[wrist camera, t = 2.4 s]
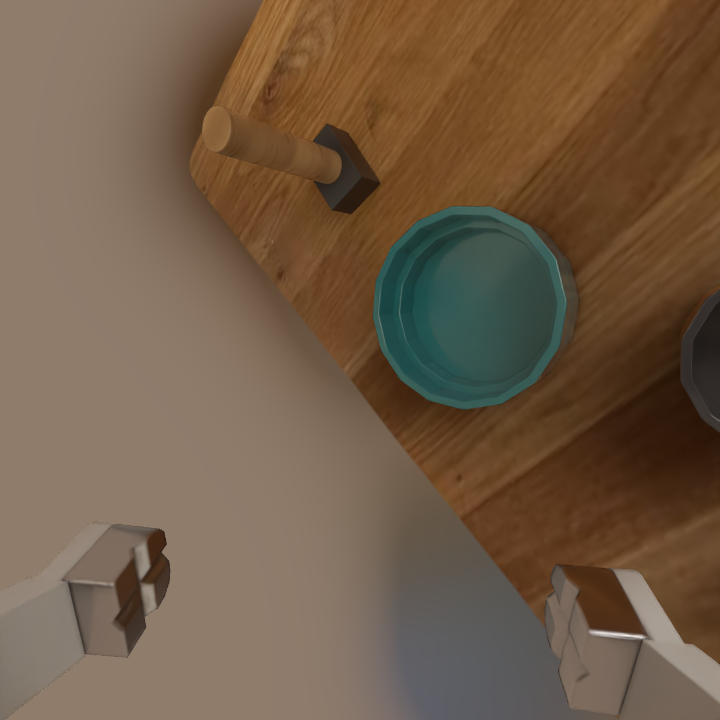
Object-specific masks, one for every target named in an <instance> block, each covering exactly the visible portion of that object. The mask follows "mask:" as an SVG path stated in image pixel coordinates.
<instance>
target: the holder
mask: <svg viewBox="0 0 720 720" xmlns="http://www.w3.org/2000/svg"><path fill="white" fill-rule="evenodd" d="M680 380H681V383H682V385H683V387H684V388H685V390H686V392H687V394H688V396H689V397H690V399H691V401H692V403H693V405H694V407H695V408H696V410H697V412H698V414H699V416H700V417H701V419H702V420H703V421H704V422H706V423H707V424H709V425H710V426H711V427H713V428H714V429H716V430H717V431H718V432H720V283H719V284H718V285H717V286H715V287H714V288H712V289H711V290H709V291H708V292H706V293H705V294H703V295H702V296H701V297H700V299H699V300H698V302H697V304H696V305H695V307H694V309H693V310H692V311H691V313H690V315H689V317H688V318H687V320H686V322H685V323H684V325H683V327H682V328H681V338H680Z"/></svg>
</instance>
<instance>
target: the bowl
mask: <svg viewBox="0 0 720 720" xmlns="http://www.w3.org/2000/svg"><path fill="white" fill-rule="evenodd" d="M578 305H579V297H578V293H577V289H576V285H575V281H574V277H573V273H572V269H571V265H570V262H569V260H568V259H567V258H566V257H565V255H564V254H563V253H562V252H561V250H560V249H559V248H558V247H557V245H556V244H555V243H554V242H553V240H552V239H551V238H550V237H549V236H548V234H547V233H546V232H545V231H544V230H542V229H540V228H538V227H536V226H534V225H531V224H529V223H527V222H525V221H523V220H521V219H519V218H517V217H515V216H513V215H511V214H508V213H506V212H503V211H501V210H499V209H496V208H494V207H486V206H451V207H449V208H446V209H444V210H442V211H439V212H437V213H435V214H432V215H430V216H428V217H425V218H423V219H421V220H418V221H417V222H416V223H415V224H414V225H413V226H412V227H411V228H410V229H409V230H408V231H407V232H406V233H405V234H404V235H403V236H402V237H401V238H400V239H399V240H398V241H397V242H396V243H395V244H394V245H393V246H392V247H391V248H390V251H389V253H388V255H387V257H386V259H385V262H384V264H383V266H382V268H381V270H380V273H379V275H378V277H377V279H376V285H375V296H374V307H373V320H374V324H375V328H376V332H377V336H378V340H379V344H380V348H381V351H382V353H383V354H384V356H385V357H386V359H387V360H388V362H389V363H390V365H391V366H392V368H393V369H394V371H395V372H396V374H397V375H398V377H399V378H400V379H401V381H403V382H404V383H405V384H407V385H408V386H409V387H411V388H412V389H414V390H415V391H416V392H418V393H419V394H420V395H422V396H423V397H424V398H426V399H427V400H429V401H432V402H436V403H440V404H444V405H448V406H451V407H455V408H459V409H464V410H465V409H472V408H479V407H486V406H492V405H499V404H502V403H504V402H506V401H507V400H509V399H510V398H512V397H513V396H515V395H517V394H518V393H520V392H521V391H523V390H525V389H526V388H528V387H529V386H531V385H533V384H534V383H536V382H537V381H539V380H540V379H541V378H543V377H544V376H546V375H547V374H549V372H551V370H552V369H553V367H554V366H555V364H556V363H557V361H558V360H559V359H560V357H561V356H562V354H563V353H564V351H565V350H566V348H567V347H568V345H569V344H570V342H571V340H572V338H573V332H574V327H575V321H576V316H577V311H578Z"/></svg>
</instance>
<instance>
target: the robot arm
mask: <svg viewBox="0 0 720 720" xmlns="http://www.w3.org/2000/svg"><path fill="white" fill-rule="evenodd" d="M166 545H167V543H166V538H165V533H164V531H162V530H160V529H157V528H148V527H140V526H131V525H122V524H109V523H101V522H93V523H91V524H88V525H87V526H86V527H85V528H84V529H83V530H82V531H81V532H80V533H79V534H78V535H77V536H76V537H75V538H74V539H73V540H72V541H71V542H70V543H69V544H68V545H67V546H66V547H65V548H64V549H63V550H62V551H61V552H60V553H59V554H58V555H57V556H56V557H55V558H54V559H53V560H52V561H51V562H50V563H49V564H48V565H47V566H46V567H45V568H44V569H43V570H42V571H41V572H40V573H39V574H38V575H37V576H36V577H35V578H30V577H29V578H25V579H23V580H21V581H19V582H17V583H15V584H13V585H11V586H9V587H7V588H5V589H2V590H0V720H5V719H6V718H7V717H9V716H10V715H11V714H12V713H14V712H15V711H16V710H18V709H19V708H20V707H22V706H23V705H24V704H25V703H27V702H28V701H29V700H30V699H32V698H33V697H34V696H36V695H37V694H38V693H40V692H41V691H42V690H43V689H45V688H46V687H47V686H49V685H50V684H51V683H52V682H54V681H55V680H56V679H57V678H59V677H60V676H61V675H63V674H64V673H65V672H66V671H68V670H69V669H70V668H72V667H73V666H74V665H75V664H77V663H78V662H79V661H81V660H82V659H83V658H84V657H85V654H90V655H102V656H115V657H128V656H129V654H130V653H131V651H132V650H133V648H134V646H135V645H136V643H137V641H138V640H139V638H140V636H141V635H142V633H143V632H144V630H145V629H146V623H145V616H147V615H149V614H150V613H152V612H153V611H155V610H156V609H158V607H159V605H160V604H161V602H162V600H163V598H164V597H165V594H166V591H167V588H168V585H169V581H170V564H169V560H168V559H167V558H166V557H165V556H164V555H163V554H162V550H163V549H164V547H165V546H166ZM550 580H551V583H552V585H553V588H554V592H552V593H551V594H550V595H549V596H548V597H547V599H546V606H545V628H546V633H547V638H548V642H549V645H550V648H551V650H552V651H553V652H554V653H555V654H556V655H557V656H558V657H559V658H560V659H561V661H560V666H559V670H558V674H559V677H560V680H561V683H562V686H563V689H564V692H565V695H566V699H567V702H568V705H569V708H571V709H577V710H584V711H591V712H598V713H605V714H612V715H618V716H620V717H619V719H620V720H720V664H719V663H717V662H716V661H715V660H713V659H712V658H710V657H709V656H708V655H706V654H705V653H704V652H702V651H701V650H700V649H698V648H697V647H696V646H694V645H692V644H684V642H683V640H682V639H681V637H680V636H679V634H678V632H677V631H676V629H675V628H674V626H673V624H672V623H671V621H670V620H669V618H668V616H667V615H666V613H665V612H664V610H663V608H662V607H661V605H660V604H659V602H658V600H657V599H656V597H655V596H654V594H653V592H652V591H651V589H650V588H649V586H648V585H647V583H646V581H645V580H644V578H643V577H642V575H641V574H640V573H639V572H638V571H636V570H631V569H617V568H608V569H607V568H598V567H586V566H574V565H562V564H556V565H555V566H554V568H553V570H552V575H551V579H550Z"/></svg>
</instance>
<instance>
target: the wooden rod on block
mask: <svg viewBox="0 0 720 720" xmlns="http://www.w3.org/2000/svg"><path fill="white" fill-rule="evenodd" d="M202 135H203V140H204V143H205V145H206V147H207V148H208V149H209V150H210V151H212V152H215V153H218V154H222V155H225V156H229V157H232V158H236V159H239V160H243V161H246V162H250V163H253V164H257V165H260V166H264V167H267V168H271V169H275V170H278V171H282V172H285V173H289V174H292V175H296V176H299V177H303V178H306V179H310V180H313V181H314V182H315V184H316V186H317V187H318V189H319V191H320V192H321V194H322V195H323V197H324V199H325V200H326V202H327V203H328V205H329V207H330V208H331V210H334V211H339V212H343V213H348V214H352V213H353V212H354V211H355V209H356V208H357V207H358V206H359V205H360V204H361V203H362V202H363V201H364V200H365V199H366V198H367V197H368V196H369V195H370V194H371V193H372V192H373V191H374V190H375V188H376V187H377V186H378V185H379V184H380V182H379V180H378V179H377V177H376V176H375V174H374V173H373V171H372V169H371V168H370V166H369V165H368V163H367V162H366V160H365V159H364V157H363V156H362V154H361V153H360V151H359V150H358V148H357V147H356V145H355V144H354V142H353V141H352V139H351V138H350V136H349V134H348V133H347V132H345V131H343V130H340V129H338V128H336V127H334V126H332V125H330V124H326V125H325V127H324V128H323V129H322V130H321V132H320V133H319V134H318V135H317V137H316V138H315V139H314V140H313V142H312V141H309V140H307V139H304V138H301V137H299V136H296V135H294V134H291V133H289V132H286V131H283V130H281V129H278V128H276V127H273V126H271V125H268V124H265V123H263V122H260V121H258V120H255V119H253V118H250V117H247V116H245V115H242V114H240V113H237V112H235V111H232V110H229V109H227V108H224V107H222V106H215V107H213V108H211V109H210V110H209V111H208V113H207V114H206V116H205V119H204V122H203V127H202Z"/></svg>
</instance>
